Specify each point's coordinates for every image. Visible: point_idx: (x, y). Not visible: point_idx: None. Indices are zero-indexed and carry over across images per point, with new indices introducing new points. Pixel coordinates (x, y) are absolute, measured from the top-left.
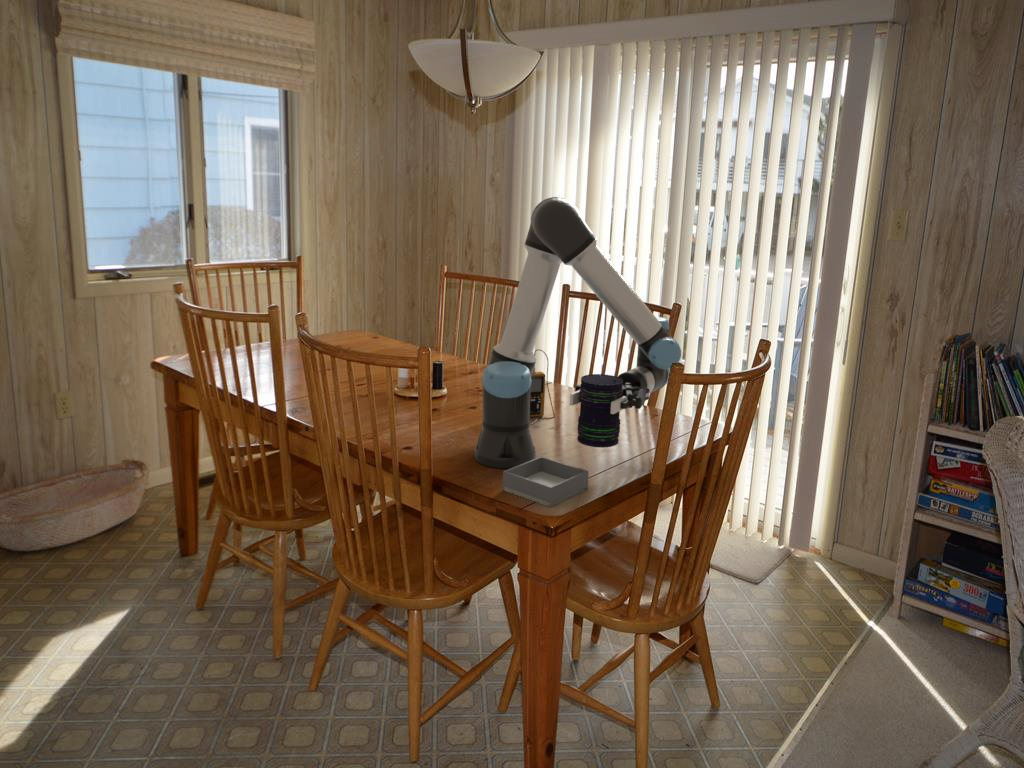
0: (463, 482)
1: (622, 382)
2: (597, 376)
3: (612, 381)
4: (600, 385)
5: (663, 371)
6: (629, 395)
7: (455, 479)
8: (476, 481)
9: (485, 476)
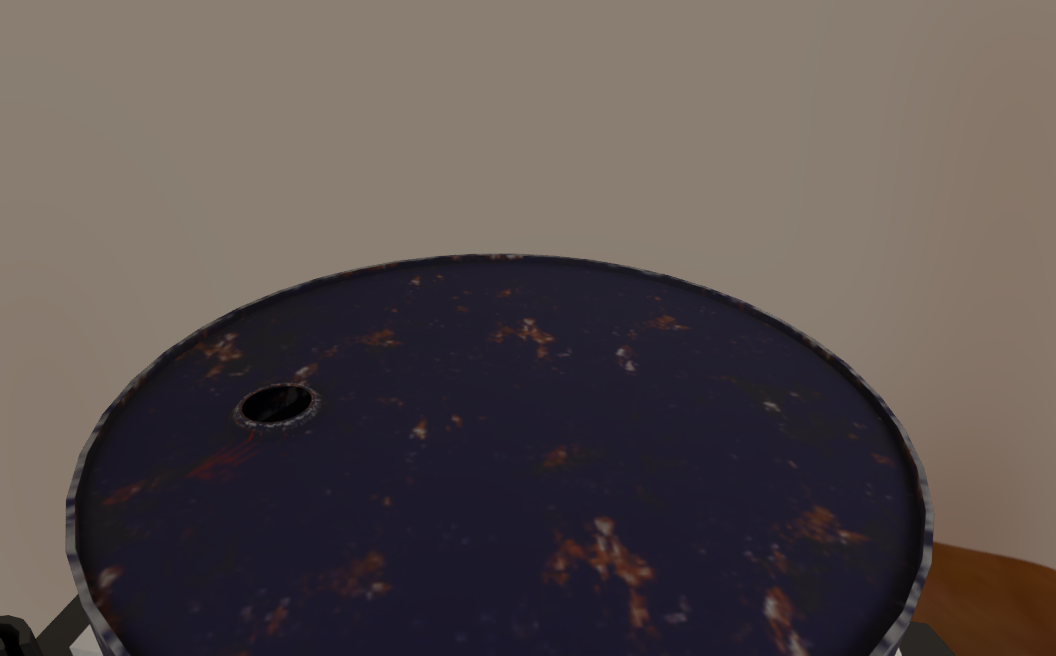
0: (953, 562)
1: (113, 420)
2: (708, 554)
3: (311, 390)
4: (451, 265)
5: None
6: (19, 626)
7: (1005, 573)
8: (932, 589)
9: (965, 651)
